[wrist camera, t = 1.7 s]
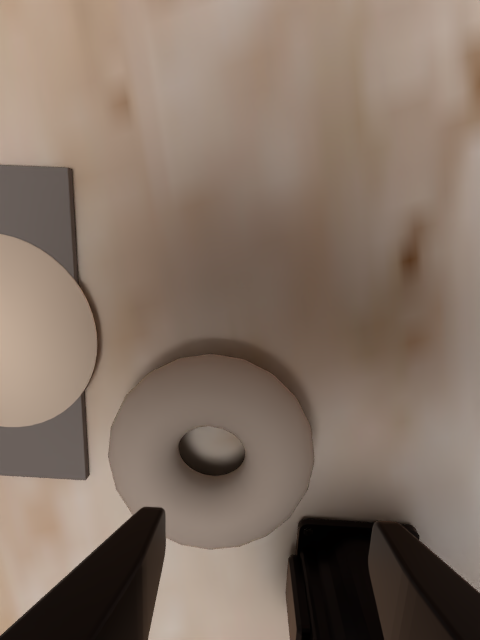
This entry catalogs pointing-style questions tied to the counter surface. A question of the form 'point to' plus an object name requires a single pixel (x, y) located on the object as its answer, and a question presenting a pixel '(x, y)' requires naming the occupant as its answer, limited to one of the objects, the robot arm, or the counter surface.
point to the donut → (223, 412)
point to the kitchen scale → (42, 328)
